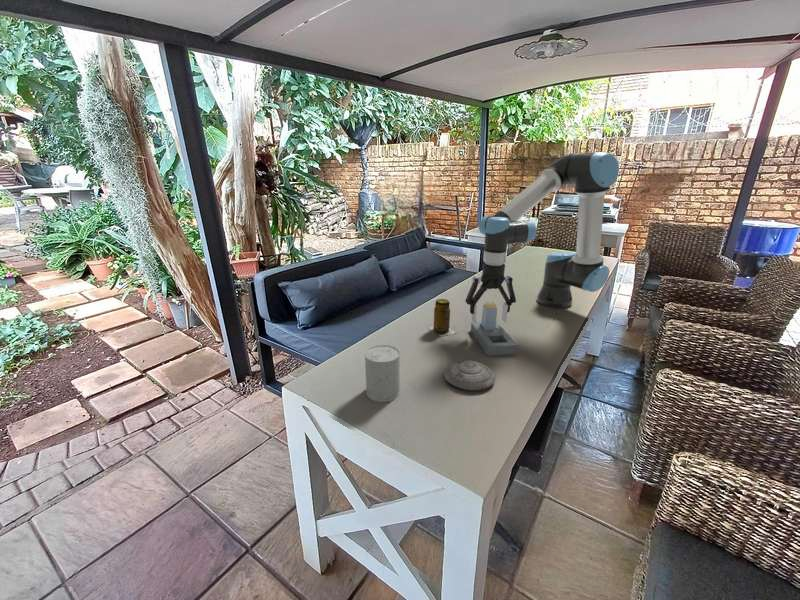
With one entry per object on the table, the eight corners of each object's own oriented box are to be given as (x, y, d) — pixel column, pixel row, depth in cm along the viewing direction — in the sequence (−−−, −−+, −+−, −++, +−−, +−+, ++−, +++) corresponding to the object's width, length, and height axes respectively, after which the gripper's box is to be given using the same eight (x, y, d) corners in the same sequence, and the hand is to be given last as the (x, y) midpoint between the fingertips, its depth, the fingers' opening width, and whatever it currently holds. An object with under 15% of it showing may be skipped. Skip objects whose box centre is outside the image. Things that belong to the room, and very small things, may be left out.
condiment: (444, 325, 147) (445, 296, 143) (456, 333, 140) (457, 303, 135) (428, 328, 144) (429, 299, 140) (439, 337, 137) (441, 307, 132)
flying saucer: (461, 399, 101) (462, 382, 99) (434, 372, 114) (435, 357, 112) (505, 386, 106) (507, 370, 105) (475, 362, 119) (476, 347, 117)
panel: (495, 329, 143) (496, 321, 141) (516, 354, 124) (517, 345, 123) (470, 330, 142) (471, 322, 141) (487, 355, 123) (488, 346, 122)
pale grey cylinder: (366, 383, 108) (364, 345, 104) (398, 381, 109) (398, 344, 104) (366, 402, 99) (364, 363, 95) (401, 401, 100) (401, 361, 96)
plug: (491, 331, 139) (493, 301, 135) (494, 336, 136) (497, 305, 131) (480, 332, 139) (483, 302, 135) (484, 336, 135) (486, 306, 131)
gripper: (521, 259, 132) (515, 315, 140) (458, 261, 130) (455, 318, 138) (530, 264, 125) (523, 323, 133) (464, 266, 123) (460, 326, 131)
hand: (488, 320), depth 135 cm, fingers open, 11 cm apart
